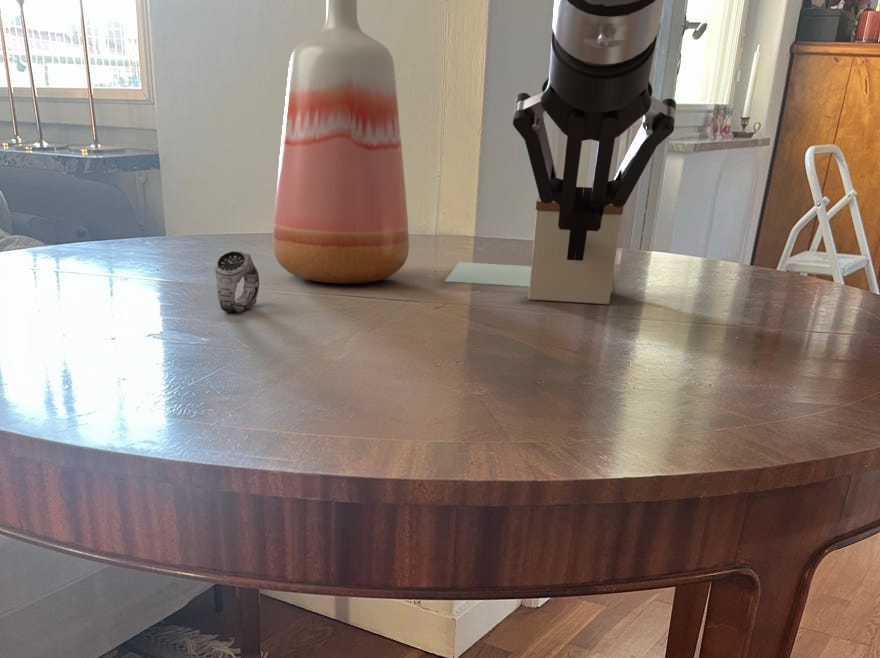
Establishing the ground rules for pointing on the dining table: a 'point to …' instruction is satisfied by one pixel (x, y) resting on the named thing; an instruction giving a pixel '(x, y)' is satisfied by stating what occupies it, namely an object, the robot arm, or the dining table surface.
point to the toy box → (572, 277)
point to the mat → (491, 274)
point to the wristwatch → (236, 281)
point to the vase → (341, 159)
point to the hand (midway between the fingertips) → (576, 248)
